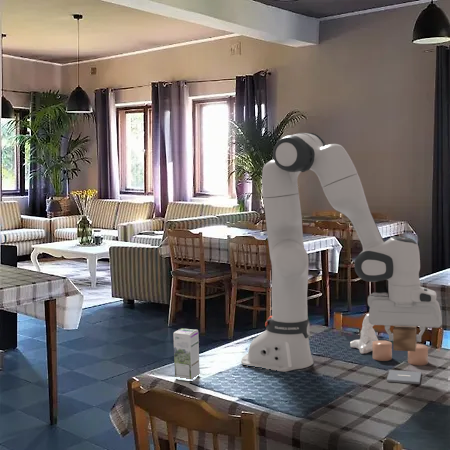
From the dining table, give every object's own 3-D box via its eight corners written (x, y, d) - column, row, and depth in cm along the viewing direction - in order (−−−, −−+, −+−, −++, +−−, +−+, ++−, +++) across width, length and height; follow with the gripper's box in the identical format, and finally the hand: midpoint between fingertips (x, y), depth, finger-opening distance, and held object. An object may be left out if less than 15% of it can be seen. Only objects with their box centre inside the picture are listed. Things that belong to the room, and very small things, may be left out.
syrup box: (200, 376, 202) (199, 329, 201) (191, 382, 197) (189, 333, 196) (183, 374, 205) (182, 327, 203) (174, 380, 199) (172, 332, 198)
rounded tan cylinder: (371, 360, 214) (371, 344, 214) (373, 354, 220) (373, 339, 219) (391, 361, 212) (390, 346, 212) (392, 356, 218) (392, 340, 217)
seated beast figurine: (348, 346, 230) (348, 311, 229) (371, 344, 232) (371, 309, 231) (361, 354, 221) (361, 318, 219) (385, 351, 223) (385, 315, 222)
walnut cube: (393, 350, 194) (393, 329, 193) (395, 344, 199) (395, 324, 199) (415, 351, 192) (415, 330, 191) (416, 345, 197) (416, 325, 197)
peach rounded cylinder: (407, 364, 209) (407, 348, 208) (408, 359, 214) (408, 343, 214) (427, 366, 207) (427, 350, 206) (428, 360, 212) (428, 344, 212)
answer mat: (386, 381, 194) (386, 379, 194) (389, 371, 202) (389, 369, 202) (419, 384, 191) (419, 381, 191) (421, 374, 199) (421, 371, 199)
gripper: (366, 294, 194) (367, 341, 196) (441, 296, 188) (441, 345, 189) (368, 290, 200) (369, 336, 202) (441, 292, 194) (442, 339, 195)
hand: (405, 340), depth 195 cm, fingers closed on walnut cube, 6 cm apart
